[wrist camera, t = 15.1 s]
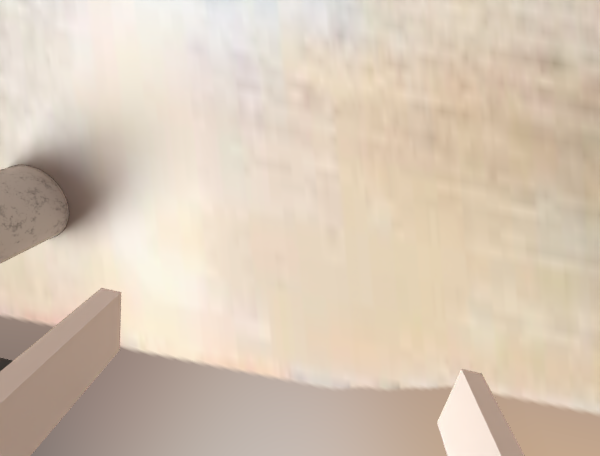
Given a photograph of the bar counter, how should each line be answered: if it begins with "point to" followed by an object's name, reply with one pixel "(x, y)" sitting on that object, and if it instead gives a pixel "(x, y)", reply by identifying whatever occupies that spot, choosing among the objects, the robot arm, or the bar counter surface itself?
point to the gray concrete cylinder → (29, 209)
